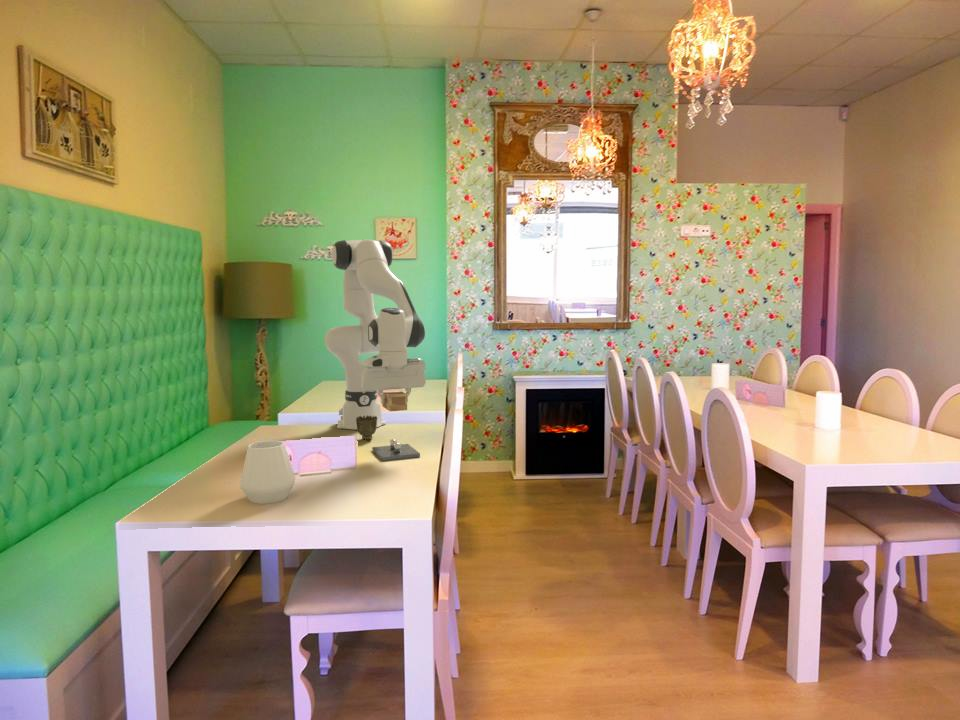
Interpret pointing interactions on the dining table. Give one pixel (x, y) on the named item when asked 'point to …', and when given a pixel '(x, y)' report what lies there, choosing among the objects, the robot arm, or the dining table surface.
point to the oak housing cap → (395, 400)
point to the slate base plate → (395, 456)
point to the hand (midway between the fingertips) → (394, 402)
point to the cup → (366, 426)
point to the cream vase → (267, 472)
